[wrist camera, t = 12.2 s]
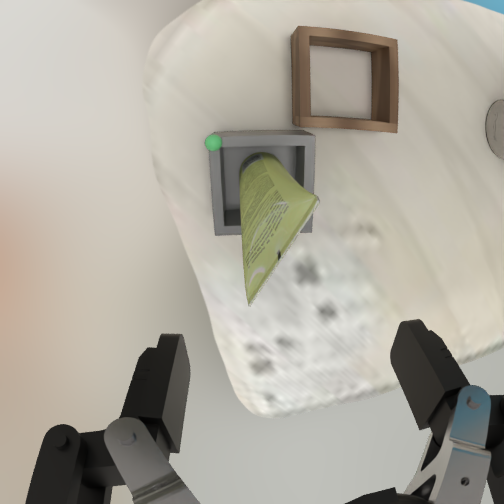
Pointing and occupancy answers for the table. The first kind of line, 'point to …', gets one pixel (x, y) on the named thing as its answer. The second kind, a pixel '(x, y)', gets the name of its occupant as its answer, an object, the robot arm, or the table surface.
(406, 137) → the table surface
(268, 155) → the tube
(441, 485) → the robot arm
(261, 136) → the socket block
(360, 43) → the brown wooden square frame
